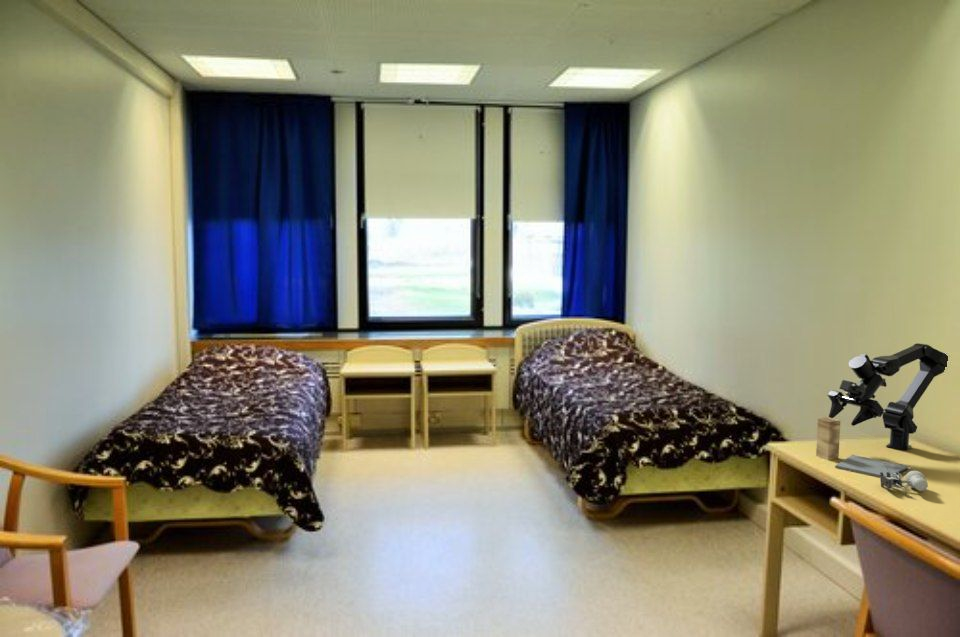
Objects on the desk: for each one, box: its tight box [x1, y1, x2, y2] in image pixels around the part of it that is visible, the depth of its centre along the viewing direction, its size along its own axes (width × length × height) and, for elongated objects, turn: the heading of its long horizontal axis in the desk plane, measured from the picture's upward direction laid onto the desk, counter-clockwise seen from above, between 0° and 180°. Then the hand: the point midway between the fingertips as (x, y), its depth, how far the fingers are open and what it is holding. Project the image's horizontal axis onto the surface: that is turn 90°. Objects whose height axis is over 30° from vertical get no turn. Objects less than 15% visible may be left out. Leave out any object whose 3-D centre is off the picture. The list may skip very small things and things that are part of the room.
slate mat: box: [834, 454, 911, 478], centre depth 223 cm, size 16×17×1 cm
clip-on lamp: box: [879, 461, 929, 493], centre depth 206 cm, size 12×6×18 cm
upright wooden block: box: [815, 416, 841, 461], centre depth 234 cm, size 5×5×13 cm
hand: (840, 421), depth 235 cm, fingers open, 9 cm apart
